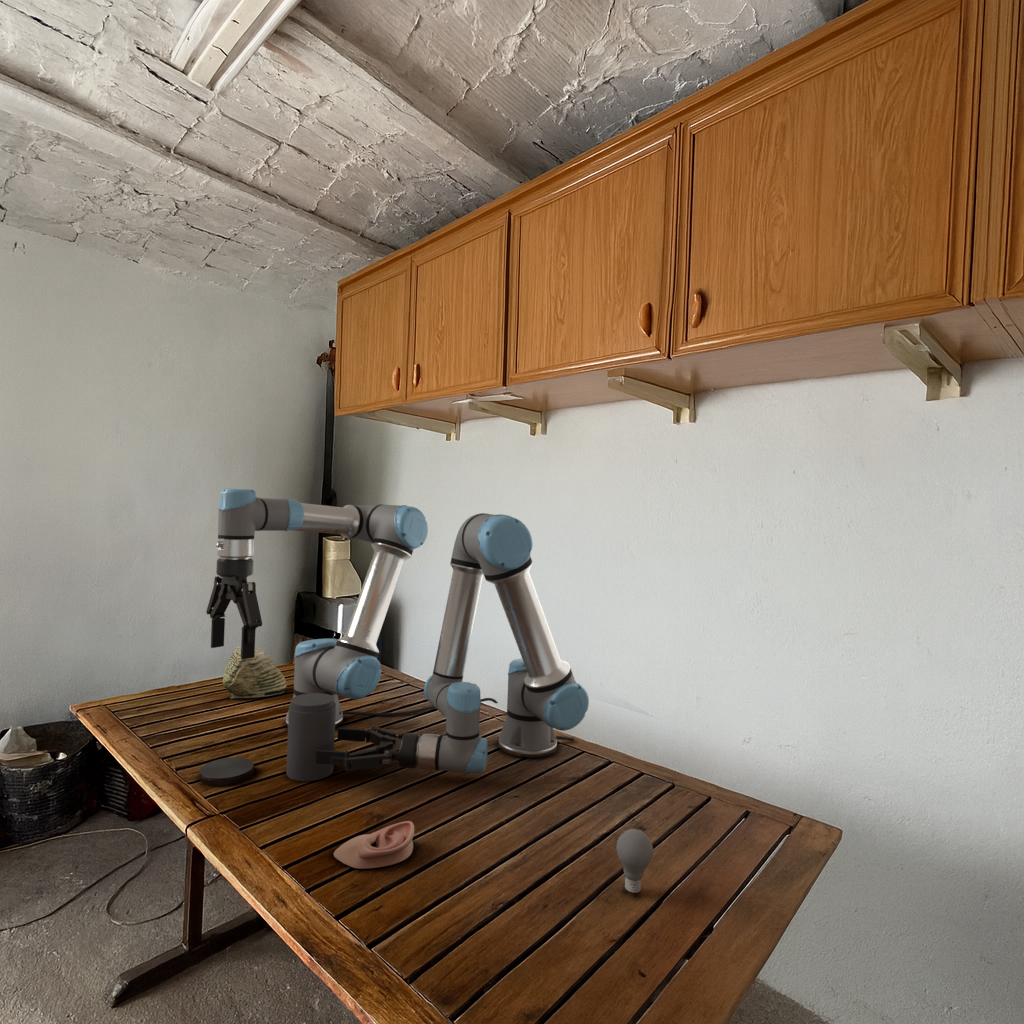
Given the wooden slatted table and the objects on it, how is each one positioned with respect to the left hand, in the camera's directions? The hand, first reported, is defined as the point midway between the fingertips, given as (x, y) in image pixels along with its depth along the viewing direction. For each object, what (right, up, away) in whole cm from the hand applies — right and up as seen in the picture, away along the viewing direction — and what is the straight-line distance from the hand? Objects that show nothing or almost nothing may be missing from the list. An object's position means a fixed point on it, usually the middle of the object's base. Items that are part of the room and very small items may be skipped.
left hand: (232, 652), depth 142 cm
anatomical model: (+38, -30, -28) cm, 56 cm away
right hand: (+20, -22, +4) cm, 30 cm away
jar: (+16, -28, +4) cm, 33 cm away
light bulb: (+83, -32, -36) cm, 96 cm away
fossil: (-18, -26, +56) cm, 65 cm away
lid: (-1, -26, 0) cm, 26 cm away
